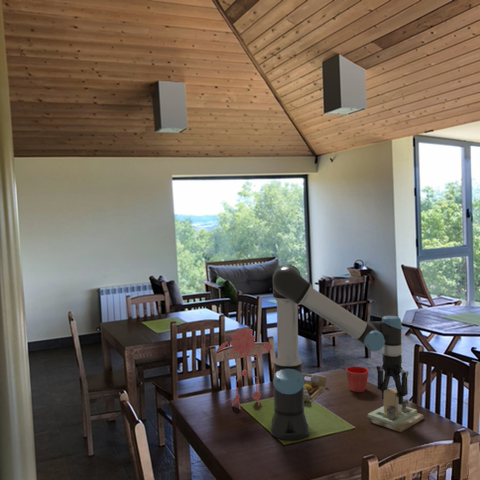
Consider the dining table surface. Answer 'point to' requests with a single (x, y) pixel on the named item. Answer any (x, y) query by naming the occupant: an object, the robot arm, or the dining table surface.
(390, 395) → the upright block on base
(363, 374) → the flower pot
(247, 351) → the pink tall branching figurine
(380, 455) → the dining table surface
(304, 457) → the dining table surface
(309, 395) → the toy food set
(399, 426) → the board
